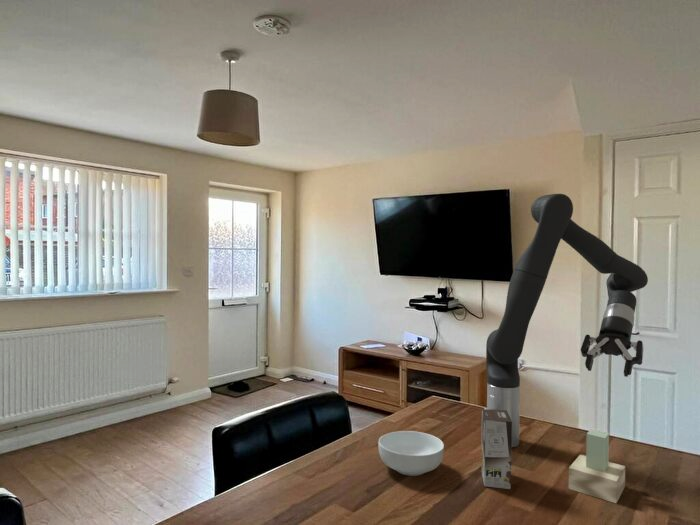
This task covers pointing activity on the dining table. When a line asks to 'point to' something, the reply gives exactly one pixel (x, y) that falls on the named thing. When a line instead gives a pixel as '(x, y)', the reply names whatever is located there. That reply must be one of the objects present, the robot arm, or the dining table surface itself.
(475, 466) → the dining table surface
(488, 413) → the coffee box
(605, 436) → the sage block
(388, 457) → the cereal bowl
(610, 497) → the maple block
